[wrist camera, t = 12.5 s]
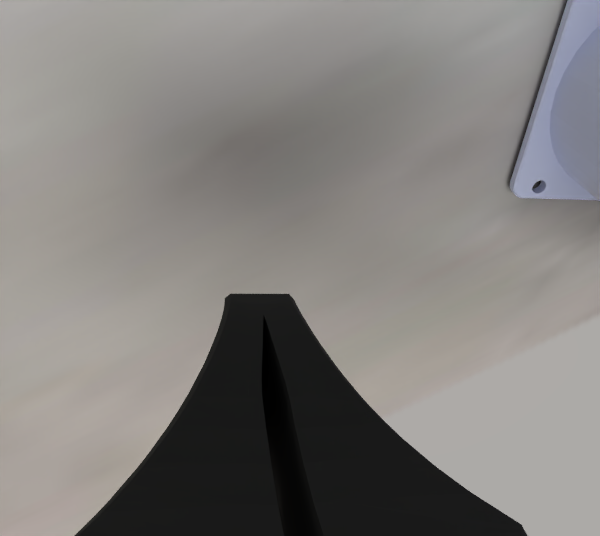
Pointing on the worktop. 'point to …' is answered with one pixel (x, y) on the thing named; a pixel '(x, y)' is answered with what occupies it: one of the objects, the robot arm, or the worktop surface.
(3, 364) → the worktop surface
